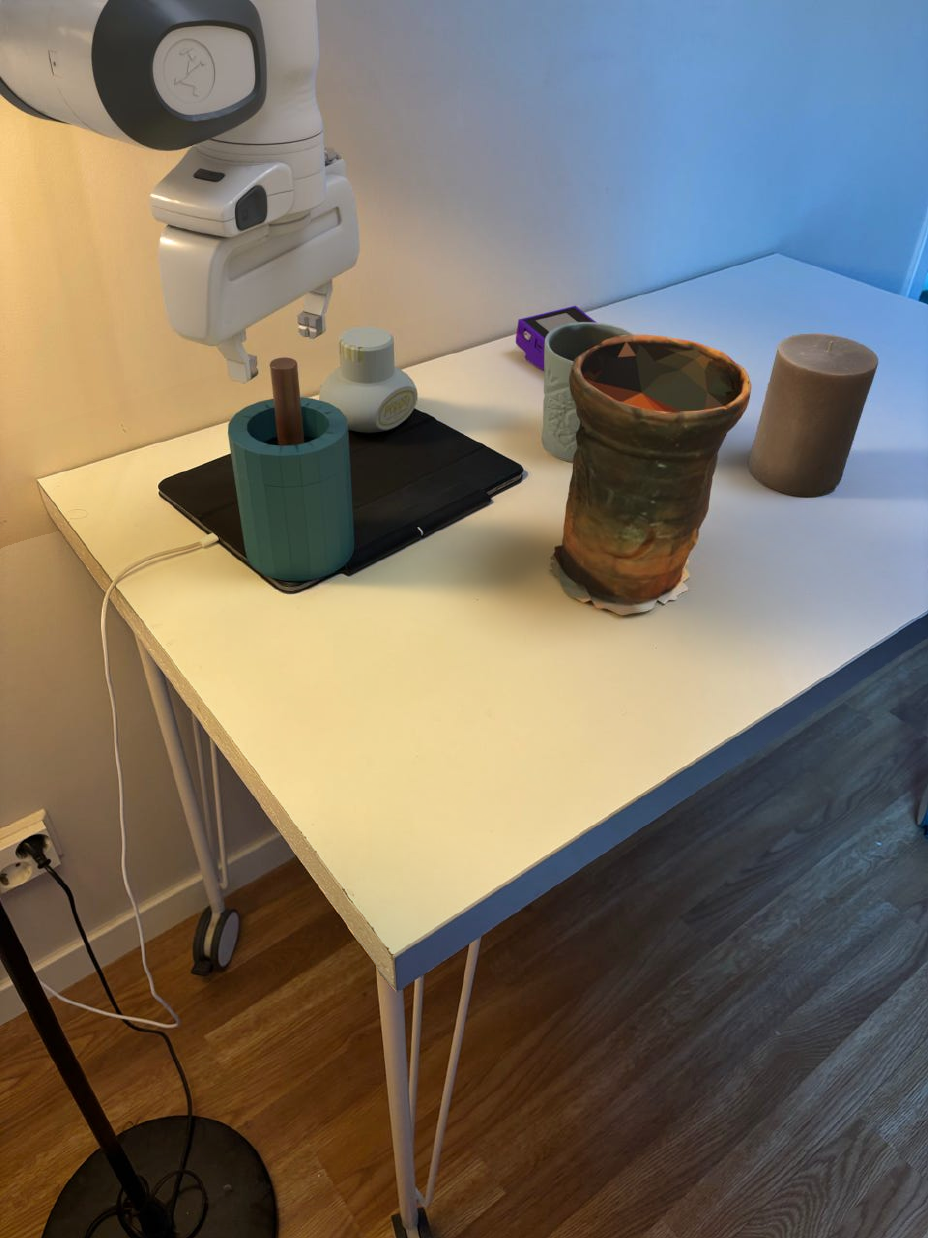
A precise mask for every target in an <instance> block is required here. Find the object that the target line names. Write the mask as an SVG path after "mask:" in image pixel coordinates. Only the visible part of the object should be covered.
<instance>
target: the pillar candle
mask: <svg viewBox="0 0 928 1238" xmlns="http://www.w3.org/2000/svg"><path fill="white" fill-rule="evenodd" d="M878 366H879V357H878V356H877V354H876V353H875V352H874V351H873V350H872V349H871V348H869V347H868V346H867V345H865V344H864V343H863V344H862V343H860V342H859V341H856V340H854V339H851V338H849V337H843V336H838V335H835V334H831V333H830V334H829V333H828V334H827V333H822V332H816V333H815V332H812V333H799V334H793V335H791V336H788V337H787V338H786V337H785V338H783V339H782V340H780V342H779V343H778V345H776V353H775V356H774V360H773V365H772V369H771V373H770V376H769V381H768V383H767V388H766V391H765V396H764V401H763V403H762V408H761V412H760V415H759V420H758V423H757V426H756V431H755V435H754V439H753V444H752V446H751V450H750V453H749V454H750V455H749V459H748V463H747V466H748V470H749V472H750V474H751V475H752V477H753V478H754V479H756V480H757V481H758V482H759V483H761V485H764V486H766V487H768V488H770V489H773V490H775V491H778V492H781V493H783V494H786V495H791V496H796V497H805V498H807V497H809V498H810V497H817V496H818V497H819V496H822V495H825V494H829V493H831V492H834V491H836V488H837V487H838V486H839V485H840V483H841V481H842V478H843V475H844V471H845V468H846V464H847V460H848V458H849V455H850V452H851V449H852V446H853V444H854V441H855V436H856V433H857V430H858V427H859V423H860V421H861V419H862V415H863V412H864V408H865V405H866V403H867V400H868V395H869V394H870V390H871V388H872V384H873V381H874V378H875V375H876V371H877V368H878Z"/></svg>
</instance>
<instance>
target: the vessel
mask: <svg viewBox="0 0 928 1238" xmlns="http://www.w3.org/2000/svg"><path fill="white" fill-rule="evenodd" d="M569 384H570V391H571V395H572V397H573V399H574V402H575V404H576V406H577V408H576V413H577V416H578V418H579V420H580V426H579V430H578V431H577V432H576V441H577V450H576V452H575V454H574V457H573V463H572V471H571V477H570V481H569V487H568V494H567V500H566V504H565V513H564V521H563V533H562V534H563V536H562V542H561V545H556V546H554V552H553V554H552V555H551V557H549V559H550V560H551V563H550V569H549V570H548V571H549V572H550V573H551V574H552V575H553V576H555V577H557V578H558V580H559V582H560V584H561V588H562V590H563V591H564V592H565V593H566V594H567V595H568V596H569V597H570V598H573V599H576V600H577V601H579V602H581V603H583V604H584V603H587V602H589V601H591V602H592V604H593V605H594V606H595V608H596V609H606V610H608V611H611V612H612V613H615V614H617V615H619V616H626V615H630V614H638V613H645V612H648V611H651V610H653V608H654V607H655V605H656V604H657V601H659V602H661V603H662V604H664V605H666V604H667V602H668V601H676V600H677V599H678V596H680V594H682V593H685V592H687V591H689V590H690V589H689V587H688V586H687V584H685V583H684V582H686V581H687V580H688V579H689V578H691V573H690V572H689V570H688V569H687V568H686V566H687V565H689V563H690V558H689V556H690V554H691V552H692V551H693V549H694V548H695V547H696V545H697V542H698V541H699V540H698V539H699V534H700V529H701V526H702V524H703V522H704V521H705V519H706V517H707V515H708V512H709V508H710V501H711V500H710V499H711V491H712V485H713V478H714V474H715V472H716V467H717V465H718V459H719V458H718V457H719V452H720V449H721V447H722V445H723V443H724V442H725V439H726V437H727V433H728V432H729V431H731V430H732V429H733V428H734V427H735V426H736V424H737V423H738V422H739V421H740V420H741V419H742V417H743V415H744V413H745V412H746V410H747V408H748V406H749V403H750V399H751V393H752V382H751V379H750V375H749V374H748V372H747V370H746V368H744V367H743V366H741V365H740V364H739V363H736V362H735V361H734V360H733V359H732V358H731V357H730V356H729V355H728V354H726V353H724V351H721V350H719V349H716V348H712V347H710V346H707V345H704V344H702V343H700V342H697V341H693V340H686V339H682V338H681V339H680V338H674V337H668V336H664V335H657V334H656V335H655V334H653V335H652V334H634V335H621V336H616V337H613V338H610V339H606V340H604V341H603V342H601V343H600V344H598V345H596V346H594V347H592V348H590V349H588V350H586V351H585V352H583V353H581V354H580V355H579V356H578V357H576V358H575V359H574V363H573V365H572V369H571V372H570V376H569Z"/></svg>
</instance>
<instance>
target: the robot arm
mask: <svg viewBox="0 0 928 1238" xmlns="http://www.w3.org/2000/svg"><path fill="white" fill-rule="evenodd" d="M317 11H318V10H317V0H0V96H1V97H2V98H3V99H5V100H6V101H7V102H8V103H9V104H11V105H12V106H13V107H15V108H16V109H18V110H19V111H21V112H23V113H25V114H27V115H28V116H31V117H33V118H37V119H40V120H46V121H51V122H55V123H60V124H64V125H65V124H66V125H70V126H74V127H77V128H80V129H82V130H85V131H89V132H91V133H94V134H98V135H99V136H103V137H105V138H109V139H111V140H116V141H118V142H122V143H124V144H128V145H130V146H134V147H138V148H140V149H145V150H147V151H158V152H159V151H161V152H163V151H164V152H174V151H181V150H183V149H187V148H188V150H187V151H186V153H185V154H183V157H182V158H181V159H180V160H179V161H178V162H177V164H176V165H175V166H174V167H173V168H172V169H171V170H170V171H169V172H168V173H167V174H166V175H165V176H164V177H163V178H162V179H161V180H160V181H159V182H158V183H156V184H155V186H154V187H153V188H152V189H151V191H150V194H149V205H150V211H151V214H152V216H153V219H154V220H155V221H156V222H158V223H163V224H165V226H164V228H163V230H162V231H161V234H160V235H159V240H158V246H157V247H158V248H157V256H158V257H157V258H158V259H157V260H158V268H159V278H160V284H161V292H162V298H163V303H164V309H165V314H166V318H167V322H168V325H169V327H170V328H171V329H172V331H174V332H175V333H176V335H177V336H179V337H180V338H181V339H183V340H186V341H190V342H193V343H196V344H199V345H204V346H209V347H216V349H218V351H219V352H220V354H221V355H222V356H223V357H224V359H225V360H226V369H227V373H228V374H227V375H228V377H229V379H230V380H231V381H233V382H237V383H240V384H247V383H248V382H250V381H251V380H253V379H255V378H256V377H258V375H259V369H258V358H257V357H258V356H257V355H255V354H251V353H250V354H249V353H248V352H247V351H246V349H245V347H244V345H243V343H245V342H246V341H247V332H246V331H247V329H248V328H250V327H252V326H254V325H256V324H257V323H258V322H260V321H262V320H264V319H266V318H267V317H269V316H271V315H273V314H274V313H276V312H278V311H279V310H282V309H284V308H285V307H286V306H288V305H290V304H292V303H293V302H295V301H297V300H299V299H300V298H302V297H304V300H303V307H302V311H301V312H300V313H299V314H297V315H296V316H297V323H298V328H297V329H298V333H299V335H300V336H301V337H302V338H309V339H310V340H315V339H316V338H318V337H320V336H321V335H323V334H325V333H326V330H327V325H326V324H327V323H326V313H327V311H328V307H329V304H330V300H331V297H332V294H333V291H334V289H333V287H334V285H333V280H334V279H335V278H336V277H338V276H340V275H342V274H343V273H345V272H347V271H349V270H350V269H352V268H354V267H355V266H356V264H357V261H358V258H359V254H360V251H361V250H360V249H361V244H360V242H361V241H360V231H359V221H358V212H357V204H356V199H355V193H354V189H353V186H352V183H351V182H350V180H349V179H348V178H347V167H346V166H347V165H346V161H345V160H344V159H343V158H342V156H341V154H340V153H338V152H337V151H336V150H335V148H333V147H332V146H325V138H324V136H325V135H324V122H323V118H322V114H321V111H320V108H319V105H318V100H317V95H316V80H317V79H316V78H317V72H318V68H319V63H320V43H319V42H320V41H319V24H318V12H317Z"/></svg>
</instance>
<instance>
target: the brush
mask: <svg viewBox="0 0 928 1238" xmlns="http://www.w3.org/2000/svg"><path fill="white" fill-rule="evenodd" d="M269 371H270V379H271V390H272V399H274V409H275V418H276V427H277V436H278V445H279V446H288V445H299V444H303V443H304V434H303V423H302V412H301V400H300V397H301V390H300V380H299V379H300V378H299V368H298V362H297V360H296V359H295V358H291V357H277V358H274V359H272V360H271V361H270V363H269Z"/></svg>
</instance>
